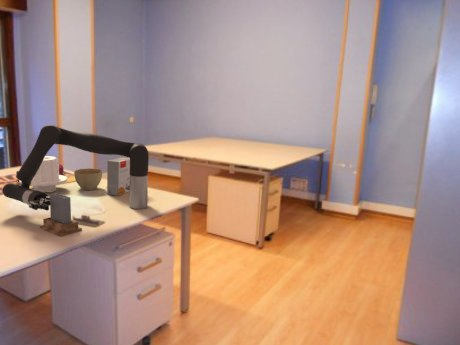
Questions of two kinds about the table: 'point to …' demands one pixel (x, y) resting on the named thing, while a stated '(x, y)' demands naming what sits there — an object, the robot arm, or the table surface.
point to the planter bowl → (88, 178)
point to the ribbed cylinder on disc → (47, 175)
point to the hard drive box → (118, 176)
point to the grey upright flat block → (60, 208)
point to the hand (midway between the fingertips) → (57, 206)
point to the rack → (60, 227)
